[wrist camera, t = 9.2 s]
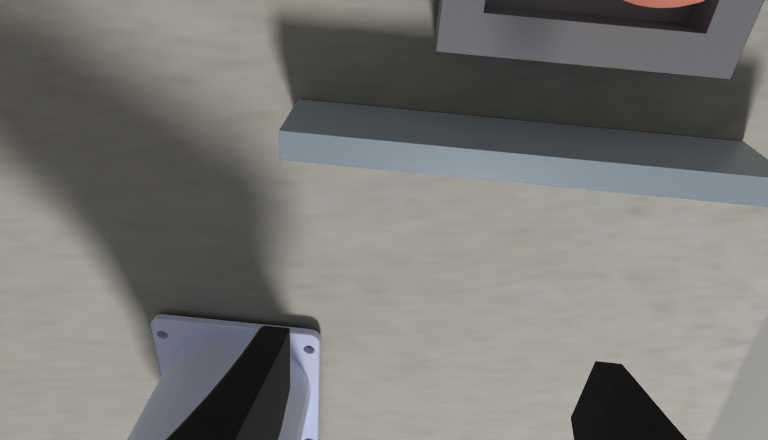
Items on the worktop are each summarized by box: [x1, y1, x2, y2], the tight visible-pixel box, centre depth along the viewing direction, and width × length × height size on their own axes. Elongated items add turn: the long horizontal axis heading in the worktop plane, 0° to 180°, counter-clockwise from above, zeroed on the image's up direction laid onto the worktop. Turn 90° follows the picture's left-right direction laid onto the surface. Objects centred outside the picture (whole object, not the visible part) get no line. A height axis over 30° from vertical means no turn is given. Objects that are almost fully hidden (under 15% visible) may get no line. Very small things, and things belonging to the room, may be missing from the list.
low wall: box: [279, 99, 768, 207], centre depth 18 cm, size 1×16×3 cm, turn 85°
